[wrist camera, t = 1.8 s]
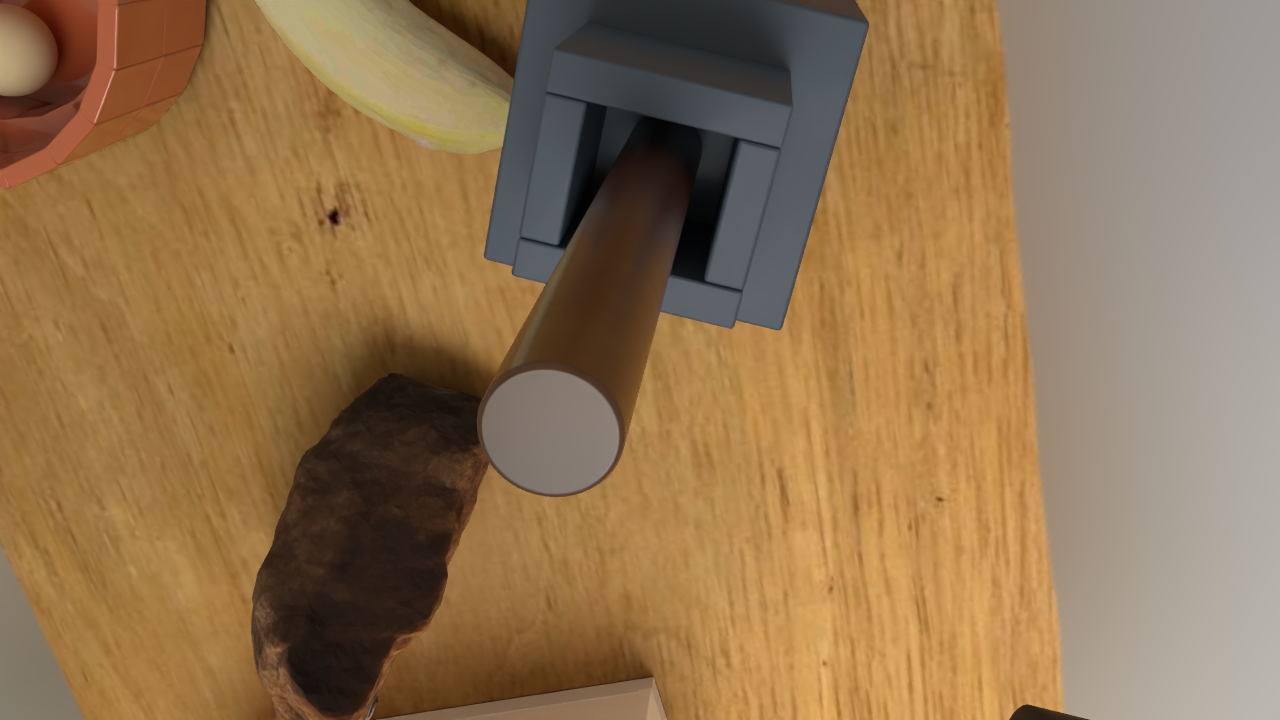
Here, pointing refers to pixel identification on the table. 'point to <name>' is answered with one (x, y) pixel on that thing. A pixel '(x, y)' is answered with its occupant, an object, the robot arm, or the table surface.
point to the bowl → (99, 80)
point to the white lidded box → (565, 705)
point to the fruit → (399, 69)
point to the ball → (24, 51)
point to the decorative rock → (364, 547)
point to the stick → (593, 324)
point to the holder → (689, 95)
